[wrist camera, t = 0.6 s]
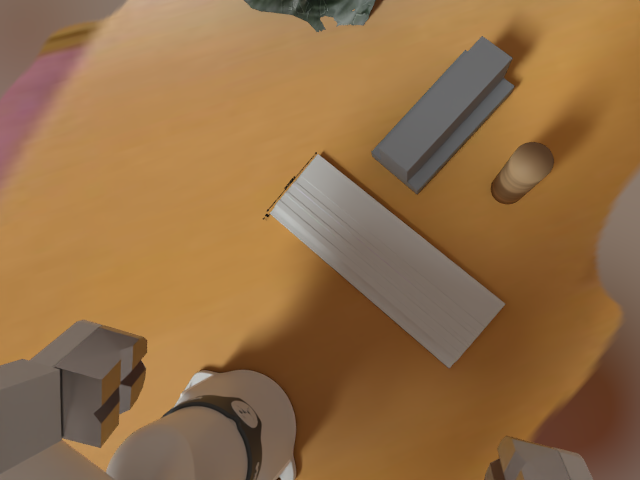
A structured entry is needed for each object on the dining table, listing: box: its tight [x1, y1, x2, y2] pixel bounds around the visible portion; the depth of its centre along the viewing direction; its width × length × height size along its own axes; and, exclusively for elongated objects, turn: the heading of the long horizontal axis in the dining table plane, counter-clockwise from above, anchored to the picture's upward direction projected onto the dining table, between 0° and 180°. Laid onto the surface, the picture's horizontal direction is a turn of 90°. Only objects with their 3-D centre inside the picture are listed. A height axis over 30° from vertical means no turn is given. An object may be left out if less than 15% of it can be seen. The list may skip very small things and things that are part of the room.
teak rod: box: [491, 142, 554, 204], centre depth 53 cm, size 4×4×12 cm
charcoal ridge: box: [372, 36, 515, 194], centre depth 58 cm, size 18×8×7 cm, turn 136°
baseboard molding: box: [263, 152, 505, 368], centre depth 60 cm, size 31×3×12 cm
